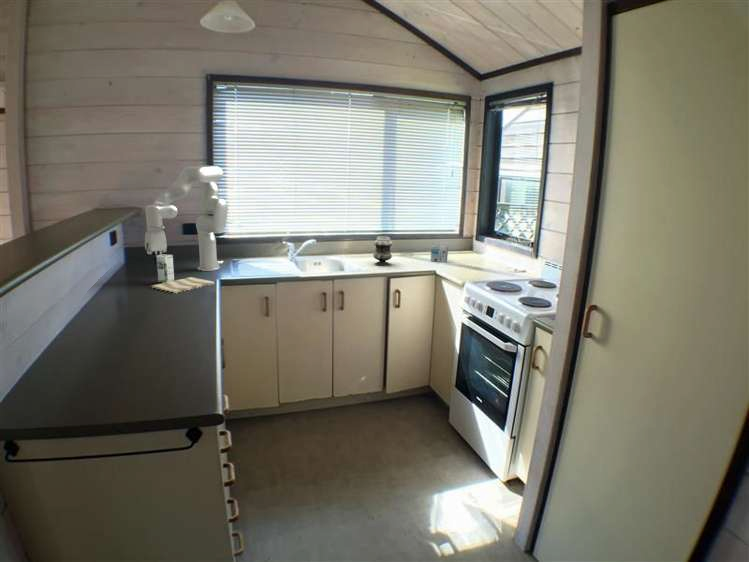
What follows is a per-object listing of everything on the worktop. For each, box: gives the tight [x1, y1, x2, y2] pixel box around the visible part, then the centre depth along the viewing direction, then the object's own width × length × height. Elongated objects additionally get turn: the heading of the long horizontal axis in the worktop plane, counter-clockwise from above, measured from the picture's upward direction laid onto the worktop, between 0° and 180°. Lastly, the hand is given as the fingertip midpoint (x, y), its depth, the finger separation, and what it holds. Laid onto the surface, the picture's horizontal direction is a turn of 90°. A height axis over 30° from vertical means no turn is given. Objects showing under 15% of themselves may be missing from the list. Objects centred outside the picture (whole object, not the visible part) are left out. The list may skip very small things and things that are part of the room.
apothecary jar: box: [373, 235, 393, 267], centre depth 309 cm, size 12×12×18 cm
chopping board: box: [150, 276, 215, 294], centre depth 243 cm, size 24×18×1 cm
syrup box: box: [156, 253, 175, 284], centre depth 248 cm, size 6×6×14 cm
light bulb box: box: [430, 244, 449, 264], centre depth 325 cm, size 11×7×11 cm, turn 73°
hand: (157, 263), depth 251 cm, fingers closed
